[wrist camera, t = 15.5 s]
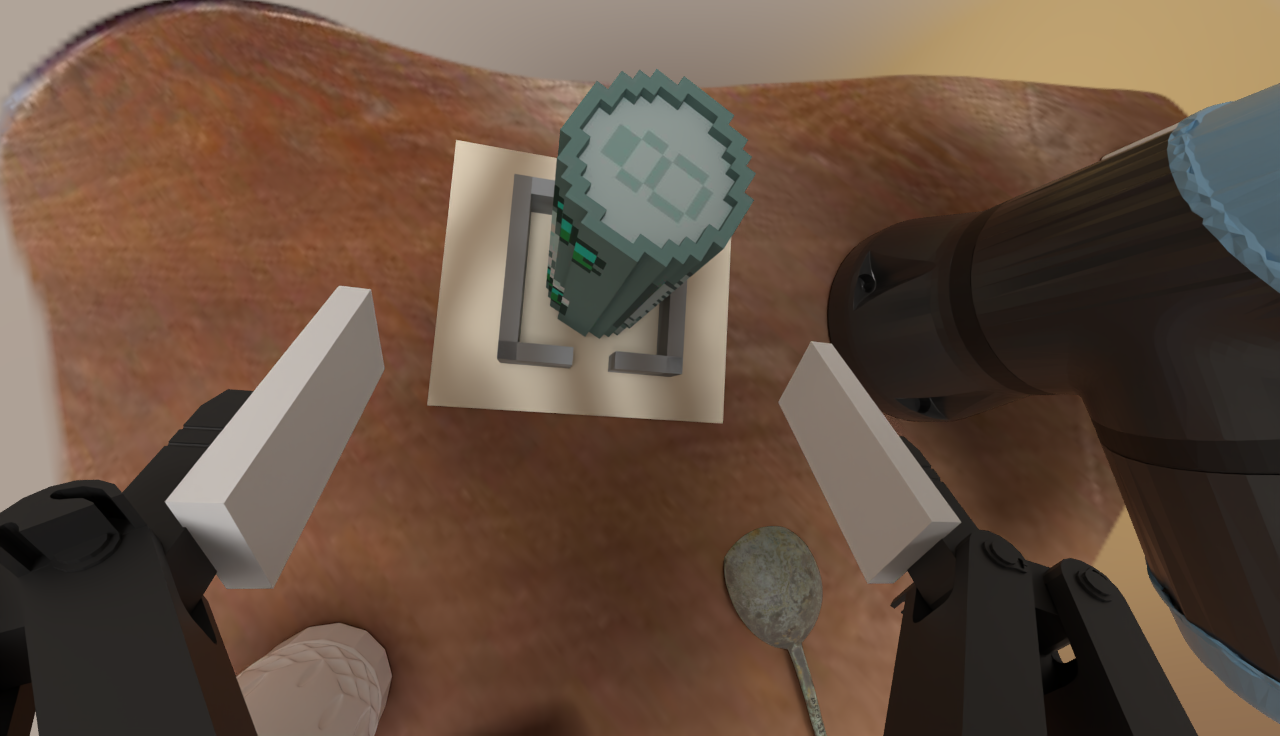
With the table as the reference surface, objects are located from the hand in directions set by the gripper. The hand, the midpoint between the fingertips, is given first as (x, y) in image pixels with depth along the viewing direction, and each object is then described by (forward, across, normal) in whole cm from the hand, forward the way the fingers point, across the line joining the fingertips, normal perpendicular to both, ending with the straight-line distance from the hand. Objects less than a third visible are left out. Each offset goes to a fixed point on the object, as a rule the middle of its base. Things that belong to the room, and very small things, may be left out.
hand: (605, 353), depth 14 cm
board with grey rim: (+15, +1, -7) cm, 17 cm away
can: (+14, +1, -6) cm, 16 cm away
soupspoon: (-2, +17, -25) cm, 30 cm away
